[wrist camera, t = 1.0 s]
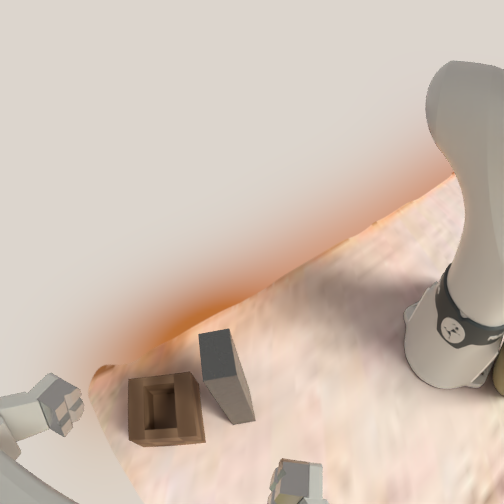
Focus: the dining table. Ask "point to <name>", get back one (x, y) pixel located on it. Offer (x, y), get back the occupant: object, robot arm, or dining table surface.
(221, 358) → the gray rectangular bar
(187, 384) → the brown square socket block
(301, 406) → the dining table surface
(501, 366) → the plant pot
